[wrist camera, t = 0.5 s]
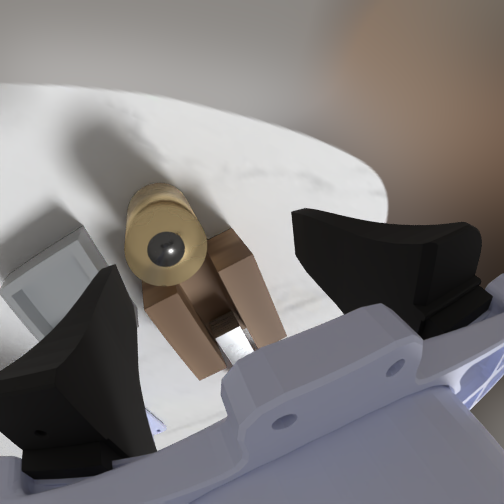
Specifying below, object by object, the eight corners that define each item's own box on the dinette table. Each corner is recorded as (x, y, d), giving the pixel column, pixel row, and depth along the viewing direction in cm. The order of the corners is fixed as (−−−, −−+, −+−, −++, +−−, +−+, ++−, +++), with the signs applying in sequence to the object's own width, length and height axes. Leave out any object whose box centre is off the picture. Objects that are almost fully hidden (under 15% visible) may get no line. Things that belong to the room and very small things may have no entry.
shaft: (238, 384, 29) (250, 411, 26) (195, 321, 24) (205, 352, 21) (274, 366, 30) (289, 391, 27) (240, 299, 25) (255, 326, 22)
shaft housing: (188, 343, 27) (199, 380, 23) (141, 274, 22) (144, 309, 19) (265, 304, 28) (286, 336, 24) (231, 228, 23) (252, 254, 20)
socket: (64, 344, 22) (61, 365, 20) (8, 274, 18) (-2, 291, 16) (137, 307, 23) (138, 326, 21) (83, 225, 19) (77, 239, 17)
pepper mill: (145, 253, 22) (150, 299, 17) (116, 202, 20) (108, 234, 15) (199, 225, 22) (219, 263, 17) (173, 171, 20) (186, 193, 15)
